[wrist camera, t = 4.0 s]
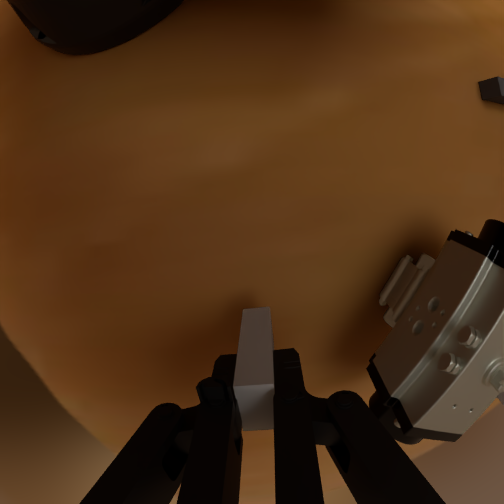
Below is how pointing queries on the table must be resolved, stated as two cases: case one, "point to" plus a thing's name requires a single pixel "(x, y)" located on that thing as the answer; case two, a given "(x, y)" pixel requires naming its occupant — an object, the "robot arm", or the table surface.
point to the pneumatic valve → (442, 339)
